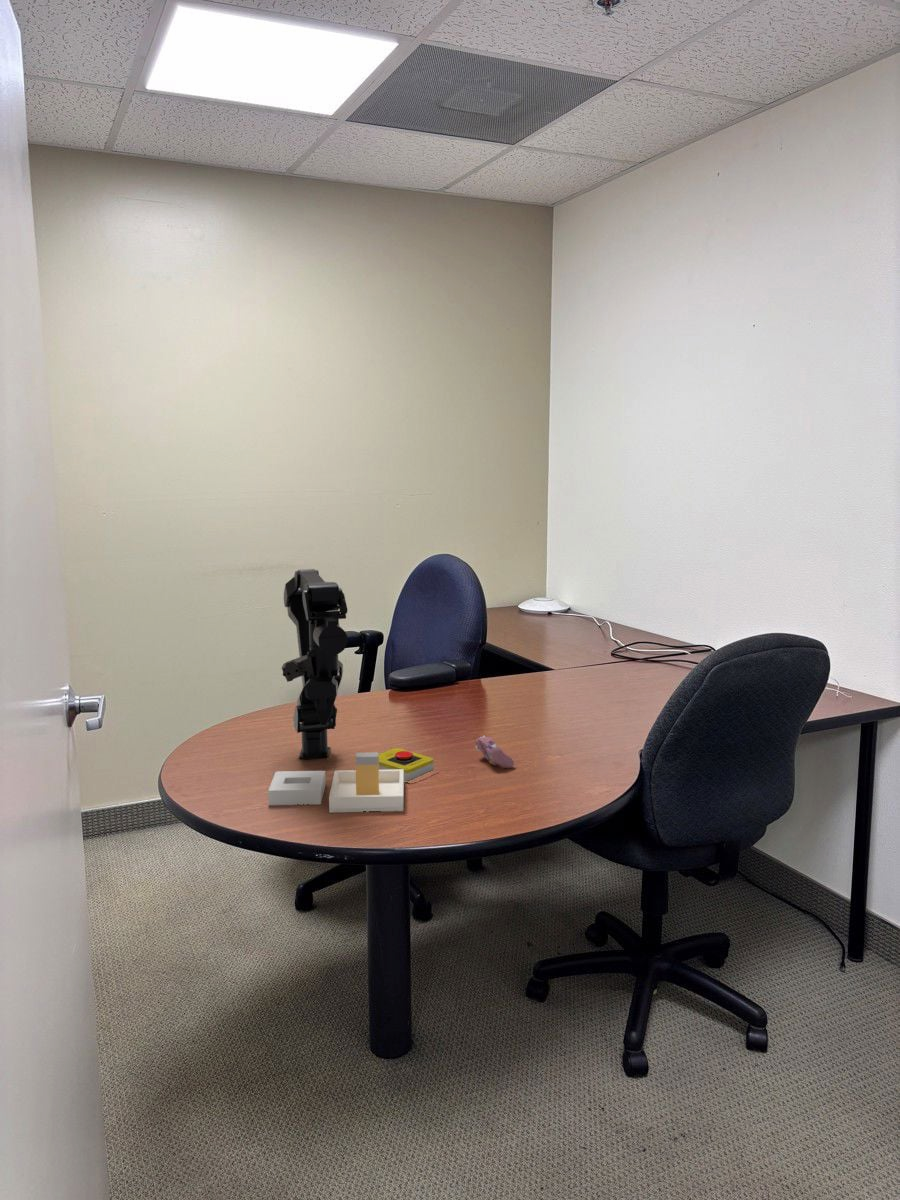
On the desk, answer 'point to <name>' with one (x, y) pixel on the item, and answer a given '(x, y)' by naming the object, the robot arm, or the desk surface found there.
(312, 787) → the white slotted block
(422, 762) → the emergency button
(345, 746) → the desk surface
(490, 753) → the video game controller
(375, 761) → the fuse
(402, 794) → the parts tray
